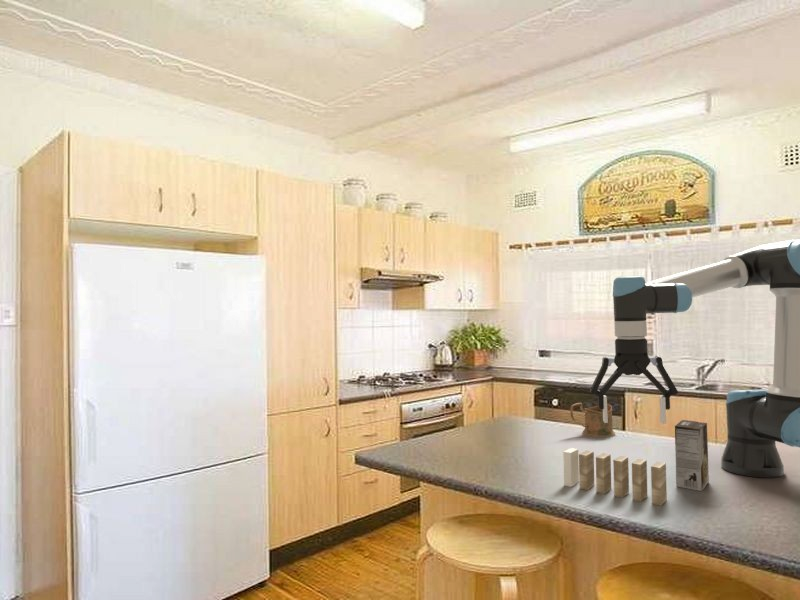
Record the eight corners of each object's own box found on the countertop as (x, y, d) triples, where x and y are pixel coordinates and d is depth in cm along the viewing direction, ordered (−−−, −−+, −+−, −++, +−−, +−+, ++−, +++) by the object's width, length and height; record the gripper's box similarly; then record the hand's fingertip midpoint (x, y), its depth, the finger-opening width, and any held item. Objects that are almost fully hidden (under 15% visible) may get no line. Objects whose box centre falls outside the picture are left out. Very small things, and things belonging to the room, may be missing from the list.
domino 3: (611, 488, 143) (610, 454, 143) (604, 493, 139) (603, 458, 140) (603, 487, 144) (603, 453, 145) (596, 492, 141) (595, 457, 141)
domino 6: (666, 499, 134) (665, 463, 134) (660, 505, 131) (659, 467, 131) (658, 498, 136) (657, 461, 136) (651, 503, 132) (651, 466, 132)
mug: (562, 433, 207) (561, 401, 207) (601, 429, 212) (601, 398, 212) (581, 440, 196) (580, 406, 196) (622, 435, 201) (621, 403, 201)
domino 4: (629, 492, 140) (628, 457, 140) (622, 497, 136) (621, 461, 137) (621, 490, 142) (620, 455, 142) (614, 495, 138) (613, 460, 138)
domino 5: (647, 496, 137) (646, 460, 137) (641, 501, 133) (640, 464, 134) (639, 494, 139) (638, 458, 139) (632, 499, 135) (631, 463, 135)
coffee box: (683, 478, 151) (681, 419, 151) (709, 482, 147) (708, 422, 147) (675, 486, 144) (673, 425, 144) (702, 491, 140) (701, 428, 140)
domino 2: (594, 485, 146) (593, 451, 146) (587, 490, 142) (586, 455, 142) (587, 483, 147) (586, 450, 148) (579, 488, 144) (578, 454, 144)
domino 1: (578, 482, 149) (578, 449, 149) (571, 486, 145) (570, 452, 145) (571, 480, 150) (571, 447, 150) (564, 485, 146) (563, 451, 147)
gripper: (680, 335, 139) (683, 419, 138) (577, 337, 144) (580, 418, 144) (689, 337, 131) (692, 426, 131) (580, 339, 137) (583, 424, 136)
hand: (634, 422), depth 137 cm, fingers open, 13 cm apart
